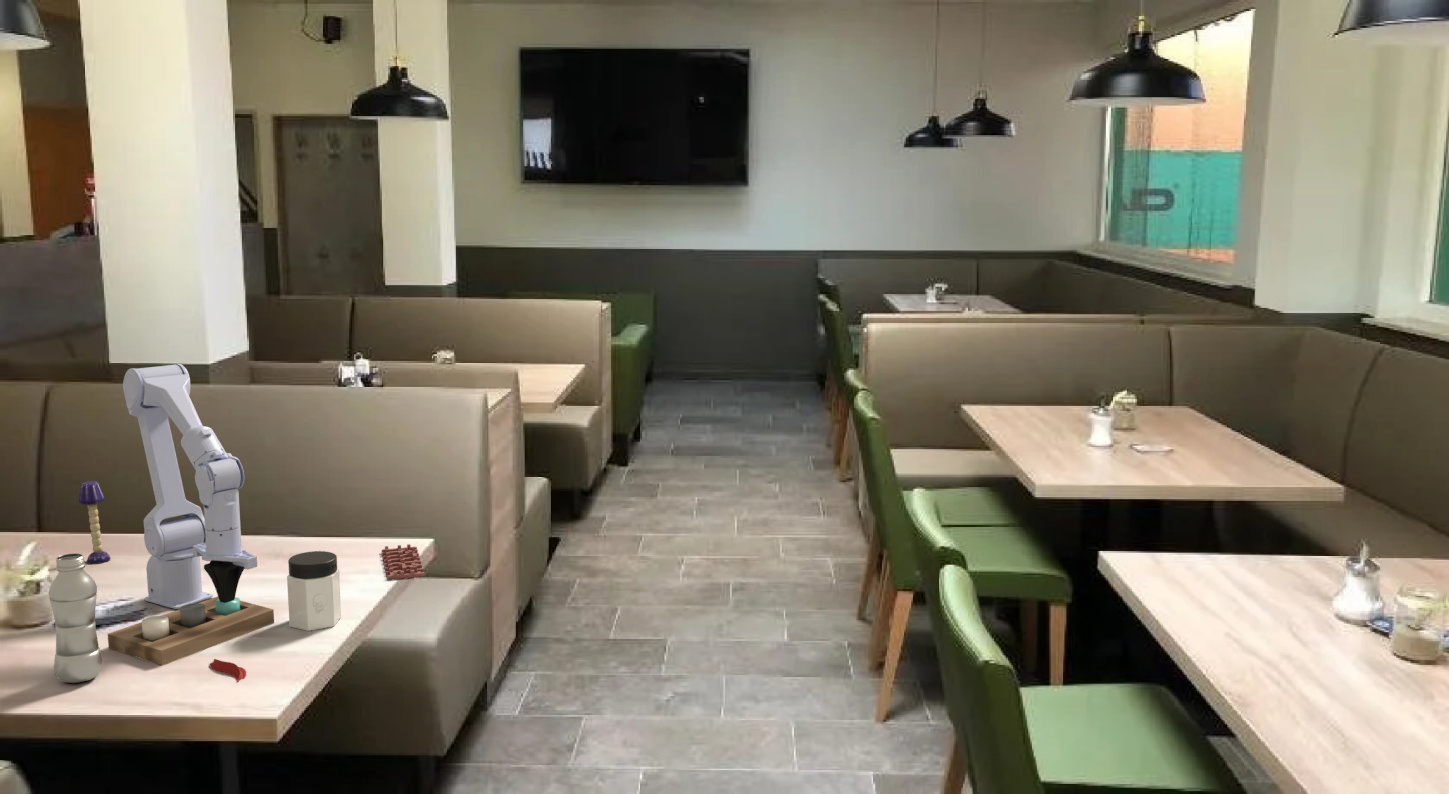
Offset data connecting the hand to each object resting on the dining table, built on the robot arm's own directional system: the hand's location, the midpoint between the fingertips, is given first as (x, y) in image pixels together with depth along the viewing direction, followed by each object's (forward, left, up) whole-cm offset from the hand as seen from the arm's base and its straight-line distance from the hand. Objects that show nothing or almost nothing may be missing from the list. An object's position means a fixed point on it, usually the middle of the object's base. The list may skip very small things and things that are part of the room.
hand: (227, 600), depth 205 cm
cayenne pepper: (+18, -14, -5) cm, 23 cm away
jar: (+13, +8, -4) cm, 16 cm away
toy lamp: (-52, +9, -4) cm, 53 cm away
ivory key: (0, -14, -2) cm, 14 cm away
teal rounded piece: (0, 0, -3) cm, 3 cm away
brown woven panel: (+3, +40, -5) cm, 40 cm away
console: (0, -7, -4) cm, 8 cm away
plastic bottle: (+1, -28, -4) cm, 28 cm away
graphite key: (0, -7, -2) cm, 7 cm away
